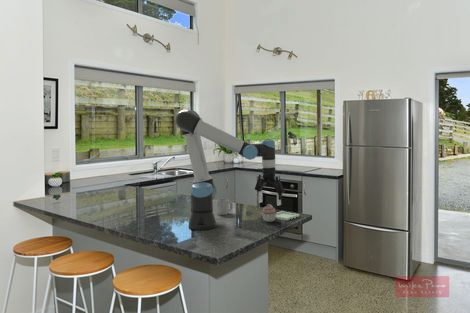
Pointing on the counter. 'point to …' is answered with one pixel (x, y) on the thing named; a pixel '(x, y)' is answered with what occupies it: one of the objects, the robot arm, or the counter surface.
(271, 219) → the cupcake
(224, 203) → the cup
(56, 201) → the counter surface
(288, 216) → the pale green scalloped tray
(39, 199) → the counter surface
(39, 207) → the counter surface
